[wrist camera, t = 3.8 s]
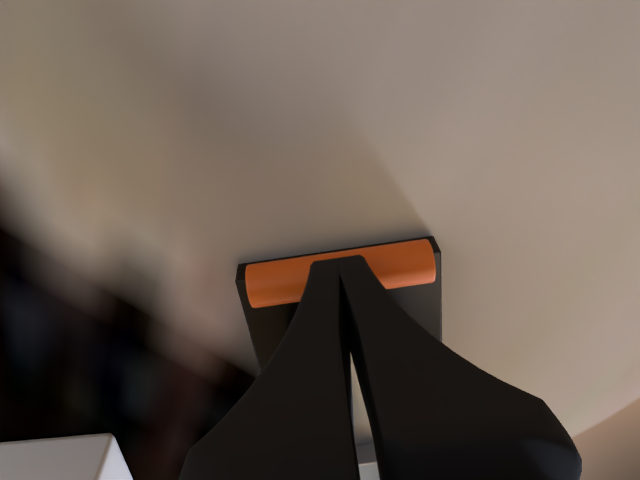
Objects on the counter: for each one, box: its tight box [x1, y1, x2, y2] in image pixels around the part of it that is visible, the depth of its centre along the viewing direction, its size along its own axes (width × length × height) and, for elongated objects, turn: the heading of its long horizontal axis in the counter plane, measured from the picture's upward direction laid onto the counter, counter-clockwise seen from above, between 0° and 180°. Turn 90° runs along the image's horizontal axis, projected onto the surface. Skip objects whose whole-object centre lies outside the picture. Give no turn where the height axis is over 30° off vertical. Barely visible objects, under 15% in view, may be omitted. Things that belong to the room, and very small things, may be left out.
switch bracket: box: [235, 236, 442, 372], centre depth 19 cm, size 10×8×8 cm
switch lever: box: [245, 239, 436, 480], centre depth 16 cm, size 10×5×2 cm, turn 8°
